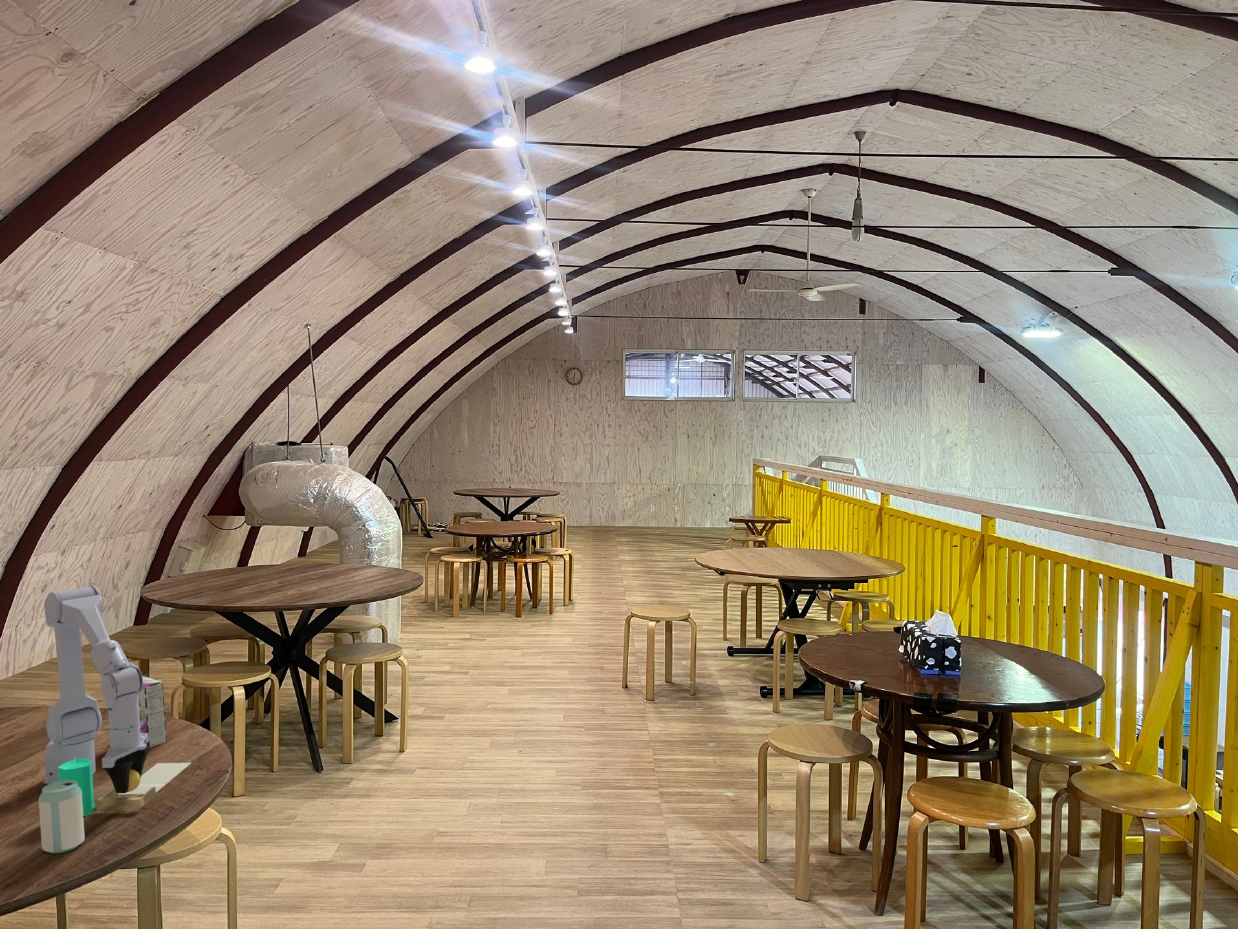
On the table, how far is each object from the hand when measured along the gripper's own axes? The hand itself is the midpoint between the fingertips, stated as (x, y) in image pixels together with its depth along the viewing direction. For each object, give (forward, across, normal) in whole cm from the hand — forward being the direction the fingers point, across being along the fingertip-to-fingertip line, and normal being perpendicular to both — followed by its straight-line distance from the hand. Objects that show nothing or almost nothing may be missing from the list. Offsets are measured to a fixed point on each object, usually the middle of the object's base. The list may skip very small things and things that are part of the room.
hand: (128, 787), depth 197 cm
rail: (+3, -1, 0) cm, 4 cm away
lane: (+3, +8, 0) cm, 9 cm away
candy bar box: (+4, +34, +14) cm, 37 cm away
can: (+4, -19, +2) cm, 19 cm away
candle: (+4, -4, +8) cm, 10 cm away
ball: (+1, 0, 0) cm, 1 cm away
